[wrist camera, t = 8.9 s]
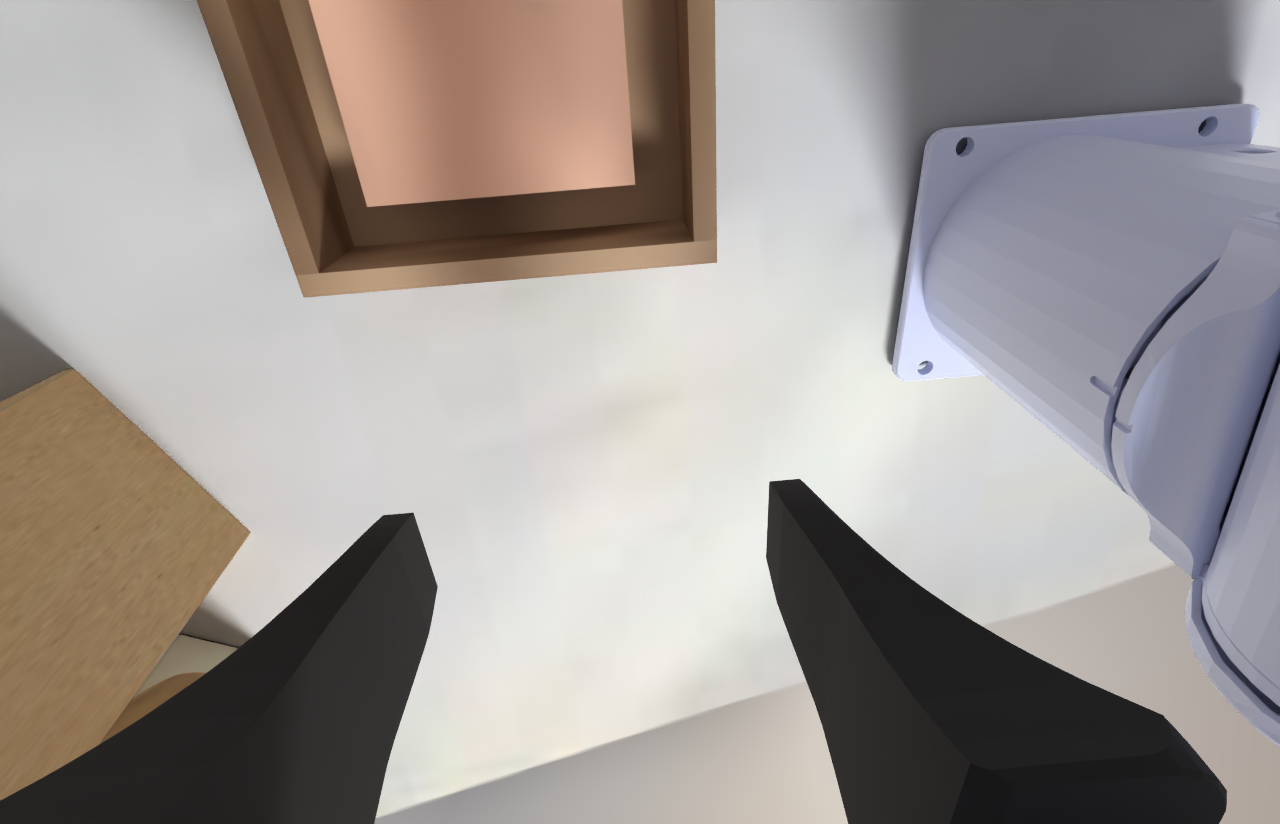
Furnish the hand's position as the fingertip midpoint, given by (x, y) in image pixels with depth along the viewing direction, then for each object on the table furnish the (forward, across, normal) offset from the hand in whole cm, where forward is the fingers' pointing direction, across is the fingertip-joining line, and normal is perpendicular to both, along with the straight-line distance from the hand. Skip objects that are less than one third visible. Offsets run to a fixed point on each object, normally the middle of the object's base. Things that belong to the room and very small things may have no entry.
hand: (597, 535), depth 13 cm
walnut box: (+9, +2, -8) cm, 13 cm away
